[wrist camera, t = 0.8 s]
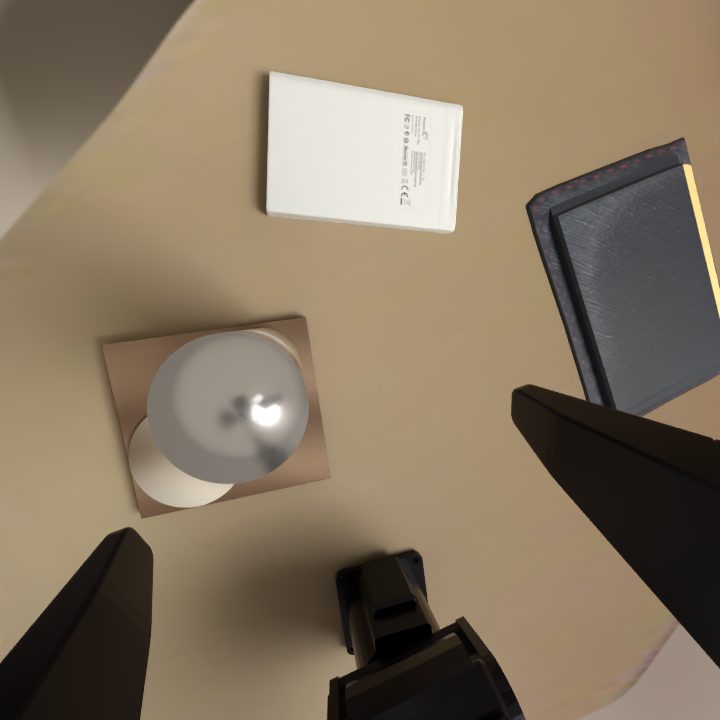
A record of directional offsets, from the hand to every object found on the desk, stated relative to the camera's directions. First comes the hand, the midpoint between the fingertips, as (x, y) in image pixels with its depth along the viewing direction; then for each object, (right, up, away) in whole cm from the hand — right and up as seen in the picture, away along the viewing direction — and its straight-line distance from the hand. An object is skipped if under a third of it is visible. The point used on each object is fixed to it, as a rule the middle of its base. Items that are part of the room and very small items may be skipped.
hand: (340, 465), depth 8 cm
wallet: (+23, +8, +21) cm, 32 cm away
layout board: (-8, -1, +15) cm, 17 cm away
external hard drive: (+1, +16, +16) cm, 22 cm away
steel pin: (-6, +2, +15) cm, 16 cm away
